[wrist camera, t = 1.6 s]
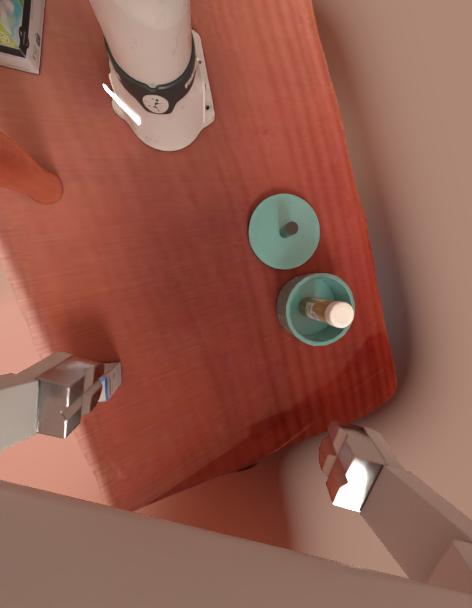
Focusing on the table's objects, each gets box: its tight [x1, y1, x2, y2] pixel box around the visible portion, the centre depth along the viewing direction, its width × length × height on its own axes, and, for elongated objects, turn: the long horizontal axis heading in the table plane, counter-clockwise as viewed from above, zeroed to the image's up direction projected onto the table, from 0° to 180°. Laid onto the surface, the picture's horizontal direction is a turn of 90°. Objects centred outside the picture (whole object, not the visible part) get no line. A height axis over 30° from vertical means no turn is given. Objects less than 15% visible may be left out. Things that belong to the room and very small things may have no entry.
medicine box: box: [98, 362, 122, 402], centre depth 45 cm, size 8×4×9 cm, turn 92°
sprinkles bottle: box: [299, 297, 354, 328], centre depth 48 cm, size 5×5×14 cm
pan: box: [276, 273, 355, 346], centre depth 52 cm, size 15×15×6 cm
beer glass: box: [0, 131, 63, 204], centre depth 38 cm, size 7×7×15 cm
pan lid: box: [248, 194, 320, 270], centre depth 50 cm, size 16×16×5 cm
